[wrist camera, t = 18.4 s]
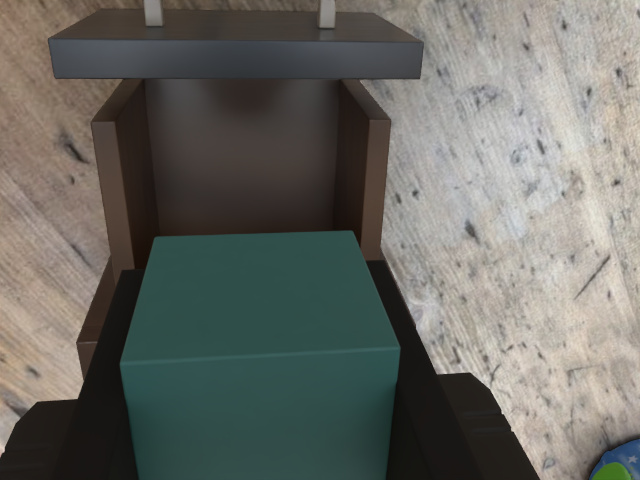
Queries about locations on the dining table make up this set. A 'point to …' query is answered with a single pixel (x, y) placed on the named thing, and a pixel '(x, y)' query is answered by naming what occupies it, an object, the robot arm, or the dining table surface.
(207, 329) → the block
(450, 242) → the dining table surface
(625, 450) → the snack cup
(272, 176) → the drawer
